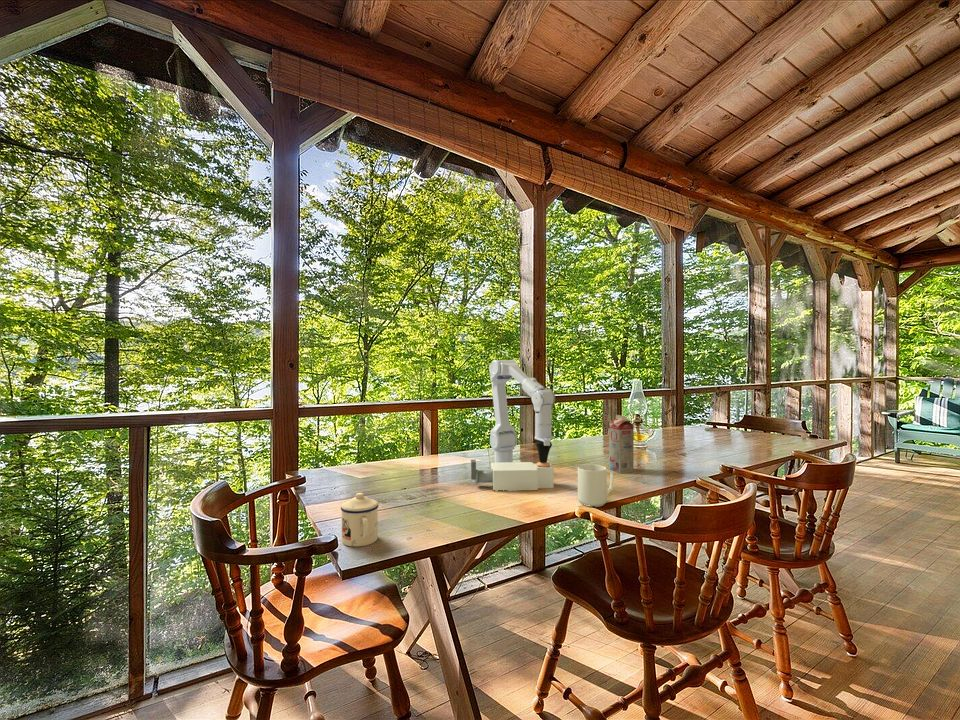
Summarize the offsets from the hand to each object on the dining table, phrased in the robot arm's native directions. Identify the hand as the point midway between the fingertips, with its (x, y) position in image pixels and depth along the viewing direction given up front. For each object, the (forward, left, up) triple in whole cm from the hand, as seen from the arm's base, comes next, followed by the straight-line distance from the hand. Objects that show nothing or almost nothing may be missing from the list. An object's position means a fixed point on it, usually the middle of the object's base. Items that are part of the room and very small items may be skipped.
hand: (543, 462), depth 168 cm
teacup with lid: (+48, -54, -8) cm, 73 cm away
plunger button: (0, 0, -4) cm, 4 cm away
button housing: (0, -8, -8) cm, 11 cm away
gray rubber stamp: (0, -19, -7) cm, 21 cm away
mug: (+20, +13, -8) cm, 25 cm away
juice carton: (-20, +35, -8) cm, 41 cm away
